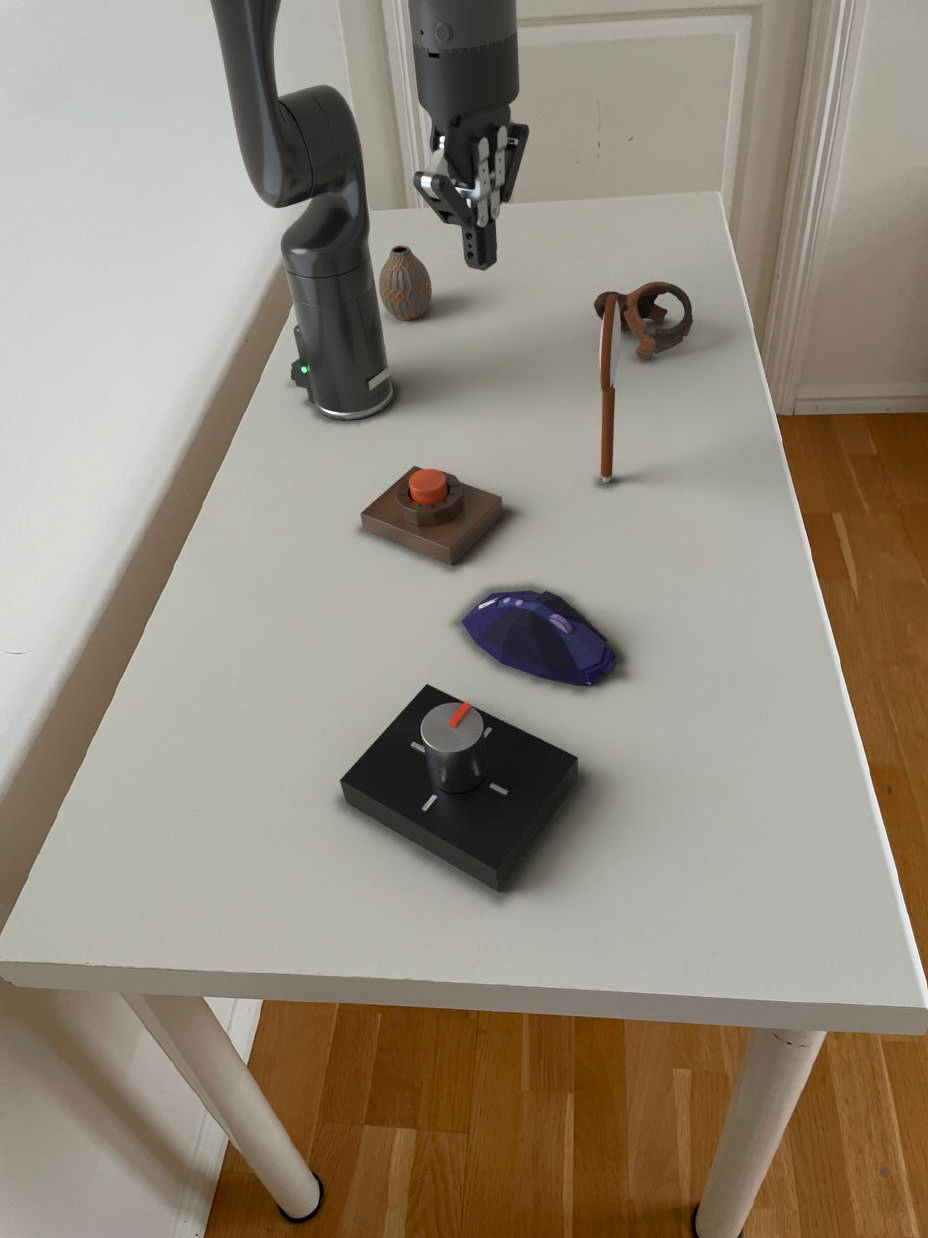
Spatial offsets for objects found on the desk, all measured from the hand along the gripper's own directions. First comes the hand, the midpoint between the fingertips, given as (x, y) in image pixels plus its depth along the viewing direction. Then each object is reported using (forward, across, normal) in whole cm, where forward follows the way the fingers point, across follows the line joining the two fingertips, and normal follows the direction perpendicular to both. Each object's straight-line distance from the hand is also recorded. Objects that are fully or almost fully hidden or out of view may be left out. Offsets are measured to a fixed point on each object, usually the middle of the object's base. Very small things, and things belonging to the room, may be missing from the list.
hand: (481, 265), depth 78 cm
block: (+25, +6, -4) cm, 26 cm away
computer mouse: (+25, +14, +14) cm, 32 cm away
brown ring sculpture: (+25, -35, -2) cm, 43 cm away
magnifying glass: (+25, -8, +8) cm, 28 cm away
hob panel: (+25, +31, +17) cm, 43 cm away
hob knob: (+22, +31, +17) cm, 42 cm away
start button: (+21, +6, -4) cm, 23 cm away
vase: (+25, -28, -33) cm, 50 cm away
